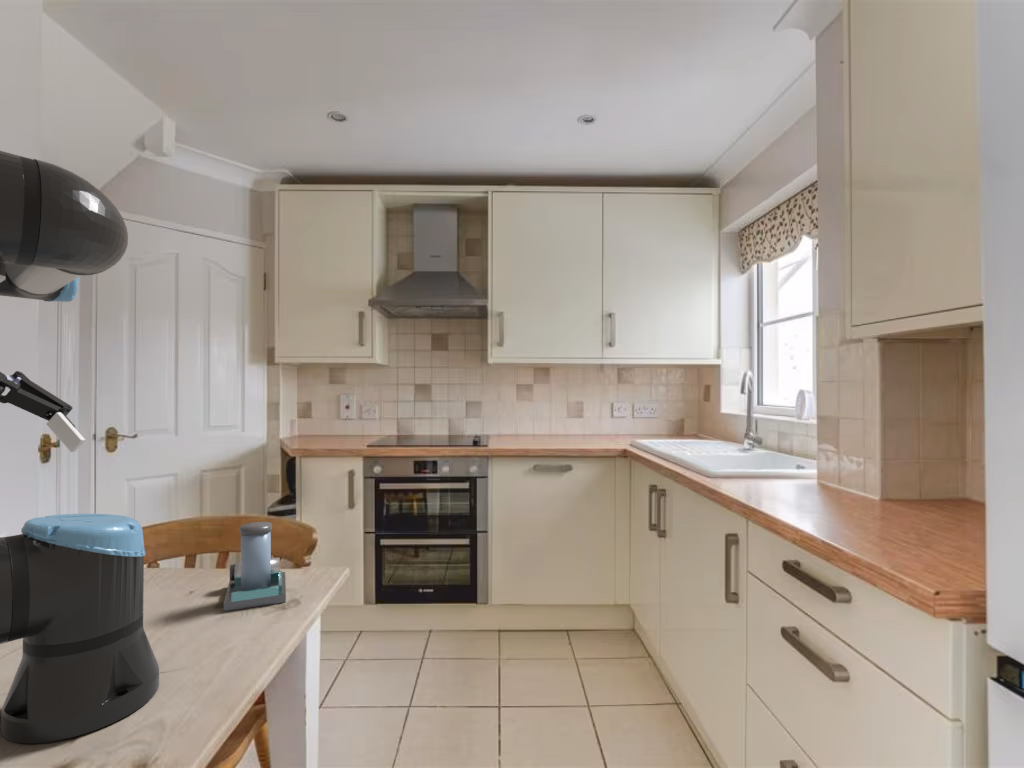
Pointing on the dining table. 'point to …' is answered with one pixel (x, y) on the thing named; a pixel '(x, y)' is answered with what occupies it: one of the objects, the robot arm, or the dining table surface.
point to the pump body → (255, 555)
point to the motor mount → (255, 597)
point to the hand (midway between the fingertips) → (36, 450)
